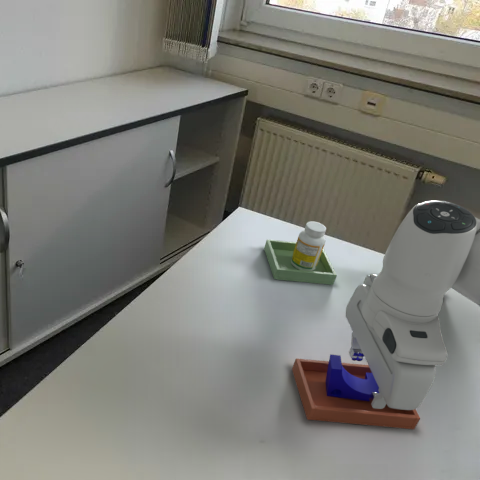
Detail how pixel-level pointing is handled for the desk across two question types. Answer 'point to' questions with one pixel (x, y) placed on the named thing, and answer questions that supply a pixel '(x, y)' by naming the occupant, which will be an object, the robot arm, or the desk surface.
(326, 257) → the green tray
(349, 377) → the cable clip
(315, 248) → the supplement bottle
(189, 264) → the desk surface
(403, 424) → the clay tray
